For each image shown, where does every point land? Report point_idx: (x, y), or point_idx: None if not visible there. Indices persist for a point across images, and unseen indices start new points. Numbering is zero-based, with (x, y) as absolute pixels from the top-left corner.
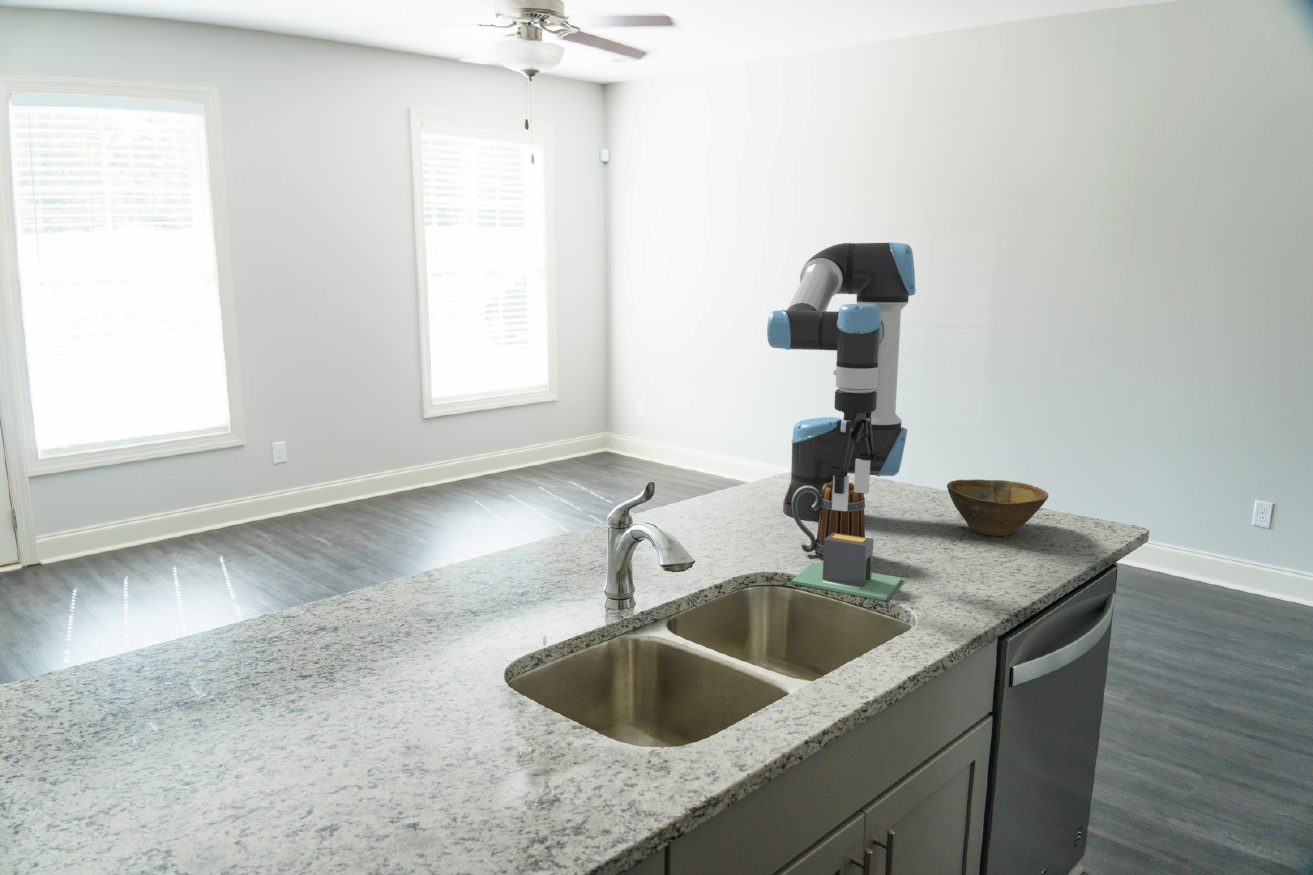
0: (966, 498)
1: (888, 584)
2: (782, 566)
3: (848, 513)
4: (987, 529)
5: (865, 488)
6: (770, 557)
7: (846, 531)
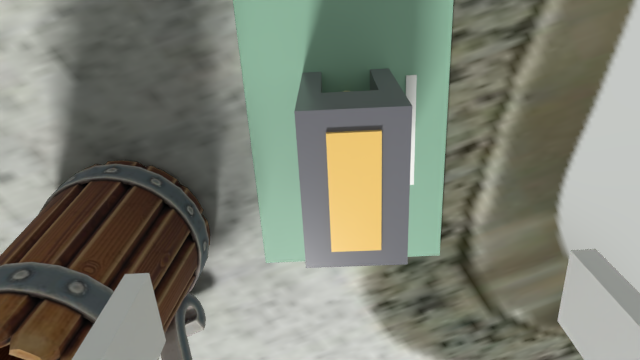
0: None
1: (322, 4)
2: (320, 312)
3: None
4: None
5: (140, 306)
6: (272, 356)
7: (156, 248)
